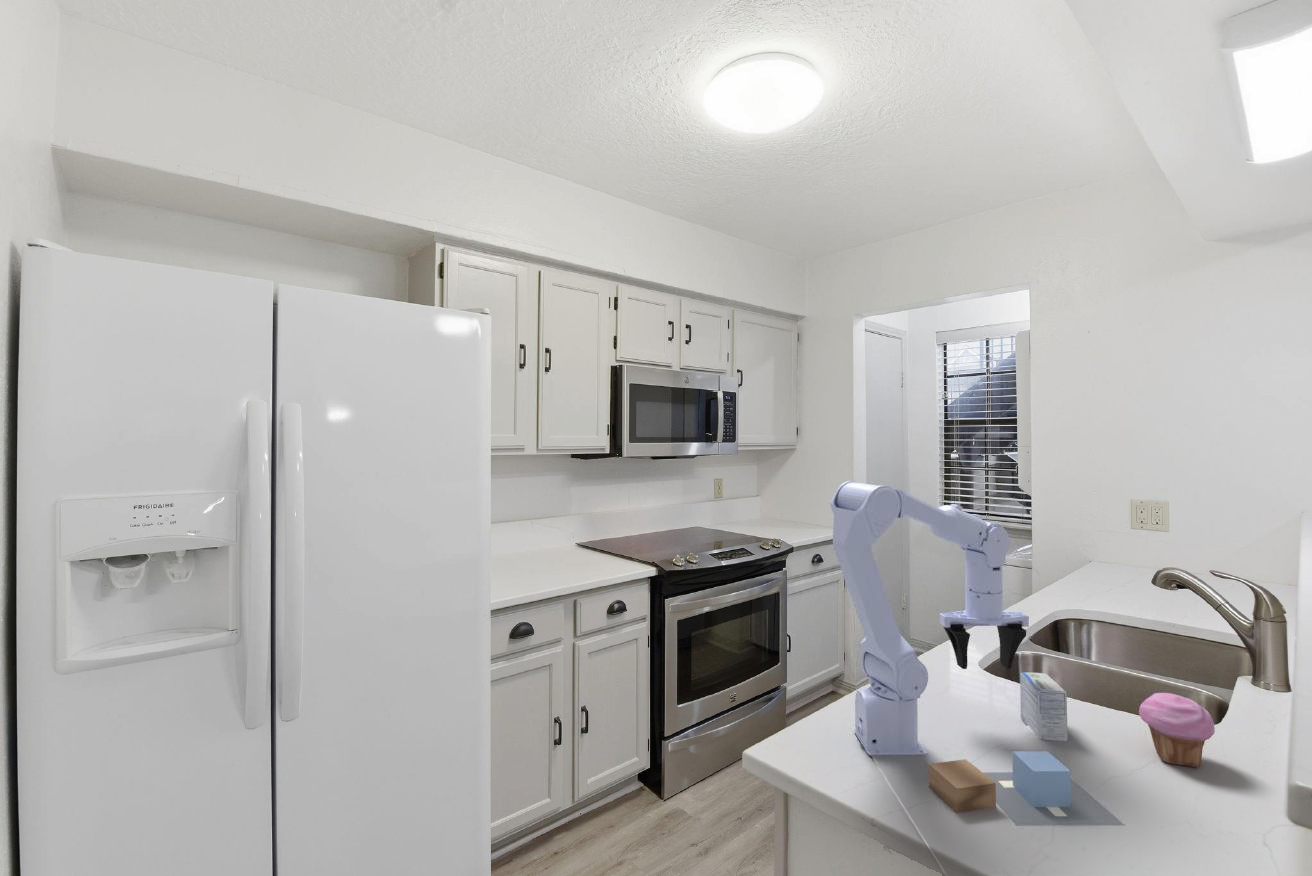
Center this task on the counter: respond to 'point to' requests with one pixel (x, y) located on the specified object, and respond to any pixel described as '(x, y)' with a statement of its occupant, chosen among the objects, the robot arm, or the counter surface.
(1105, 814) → the board
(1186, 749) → the cupcake
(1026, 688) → the medicine box
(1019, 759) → the blue cube
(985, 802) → the walnut block
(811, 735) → the counter surface
